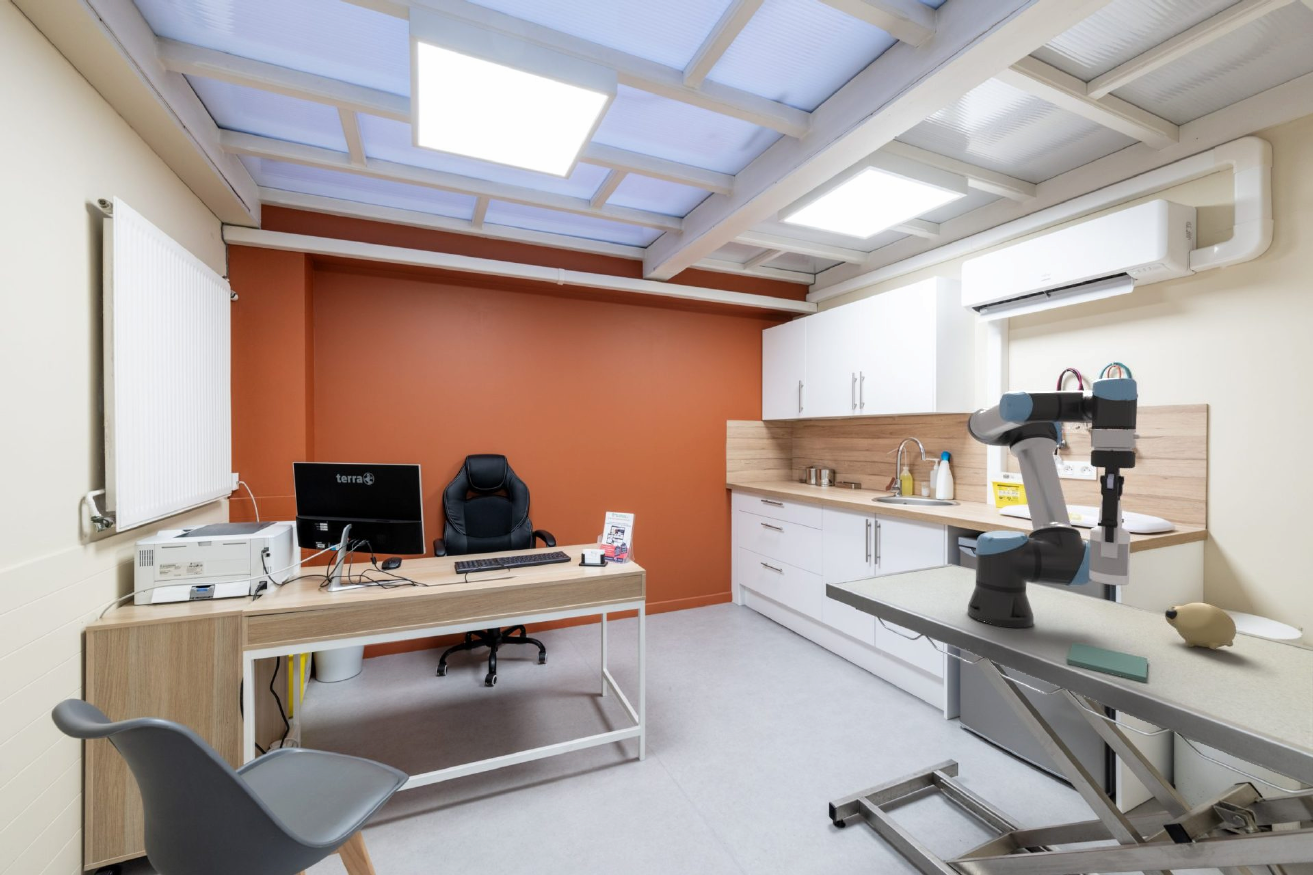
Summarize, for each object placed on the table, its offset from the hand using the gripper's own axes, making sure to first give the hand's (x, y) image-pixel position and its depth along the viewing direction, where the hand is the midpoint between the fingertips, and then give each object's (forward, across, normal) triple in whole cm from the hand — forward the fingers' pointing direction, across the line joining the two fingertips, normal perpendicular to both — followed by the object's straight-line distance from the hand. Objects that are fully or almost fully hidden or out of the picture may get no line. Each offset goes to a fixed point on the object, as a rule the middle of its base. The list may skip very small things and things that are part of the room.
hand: (1110, 554), depth 121 cm
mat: (+24, 0, 0) cm, 24 cm away
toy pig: (+24, +28, -16) cm, 40 cm away
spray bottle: (+6, 0, 0) cm, 6 cm away
